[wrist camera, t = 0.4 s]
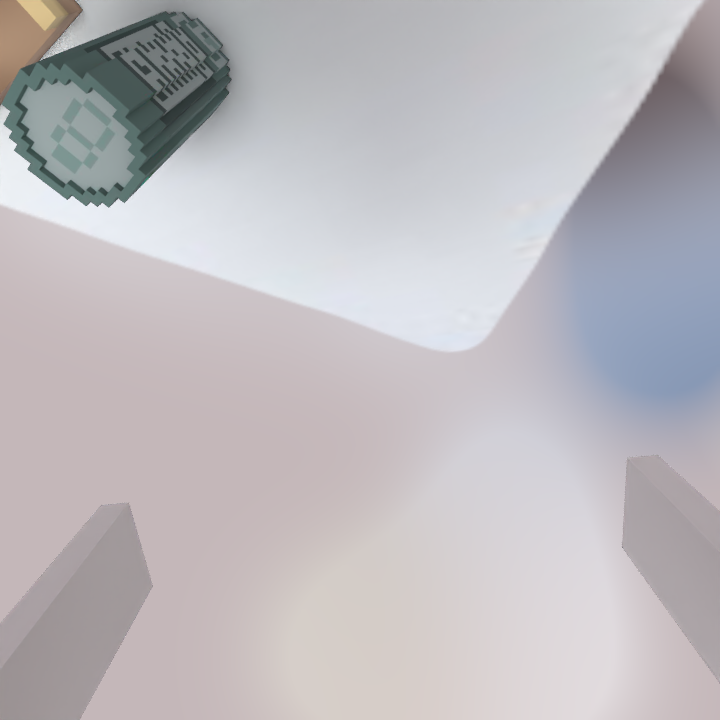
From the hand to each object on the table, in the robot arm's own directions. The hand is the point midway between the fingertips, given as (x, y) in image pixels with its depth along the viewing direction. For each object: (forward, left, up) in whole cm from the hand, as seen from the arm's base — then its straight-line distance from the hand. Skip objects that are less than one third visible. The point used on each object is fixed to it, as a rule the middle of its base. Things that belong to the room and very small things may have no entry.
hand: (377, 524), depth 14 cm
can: (-12, -9, -31) cm, 34 cm away
